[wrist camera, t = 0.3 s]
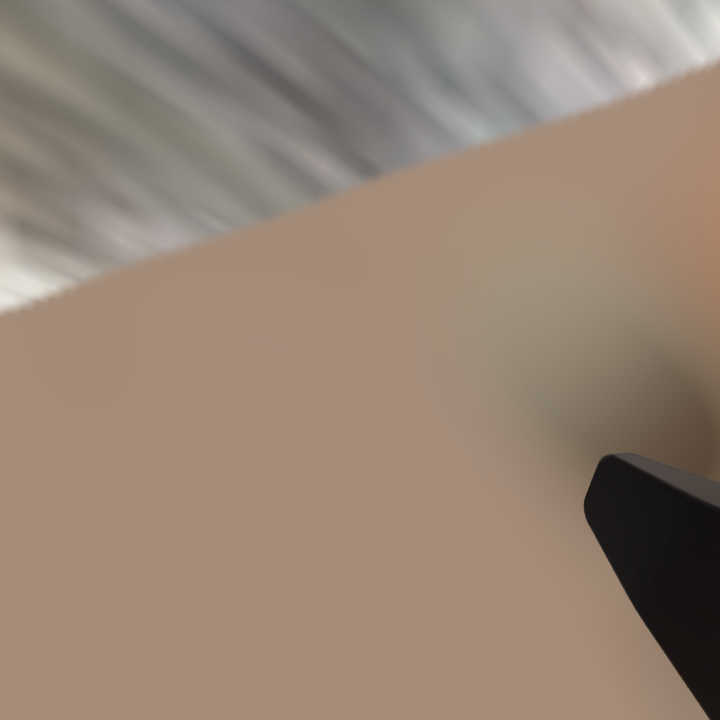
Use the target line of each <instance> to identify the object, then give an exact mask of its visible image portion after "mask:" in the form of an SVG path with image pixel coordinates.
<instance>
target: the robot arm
mask: <svg viewBox="0 0 720 720" xmlns="http://www.w3.org/2000/svg"><path fill="white" fill-rule="evenodd" d="M584 513H585V517H586V520H587V522H588V524H589V526H590V528H591V530H592V531H593V533H594V535H595V537H596V539H597V541H598V542H599V544H600V546H601V548H602V550H603V552H604V553H605V555H606V557H607V559H608V561H609V562H610V564H611V566H612V568H613V570H614V572H615V574H616V575H617V577H618V579H619V581H620V583H621V585H622V586H623V588H624V590H625V592H626V594H627V595H628V597H629V599H630V601H631V602H632V604H633V606H634V608H635V609H636V611H637V612H638V614H639V616H640V617H641V619H642V620H643V622H644V623H645V625H646V626H647V628H648V629H649V631H650V632H651V633H652V635H653V637H654V638H655V640H656V641H657V643H658V644H659V645H660V647H661V649H662V650H663V652H664V653H665V654H666V656H667V657H668V659H669V660H670V662H671V663H672V665H673V666H674V668H675V669H676V671H677V672H678V674H679V675H680V677H681V678H682V680H683V681H684V682H685V684H686V685H687V687H688V688H689V690H690V691H691V693H692V694H693V696H694V697H695V699H696V700H697V701H698V703H699V705H700V706H701V708H702V709H703V710H704V712H705V713H706V715H707V716H708V718H709V719H710V720H720V483H718V482H716V481H713V480H710V479H707V478H704V477H701V476H698V475H695V474H693V473H690V472H687V471H684V470H681V469H678V468H675V467H672V466H669V465H666V464H663V463H660V462H658V461H655V460H652V459H649V458H646V457H643V456H640V455H637V454H632V453H618V454H607V455H606V456H603V457H602V458H601V460H600V461H599V463H598V465H597V468H596V470H595V473H594V476H593V478H592V481H591V483H590V486H589V488H588V491H587V494H586V496H585V500H584Z"/></svg>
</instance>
